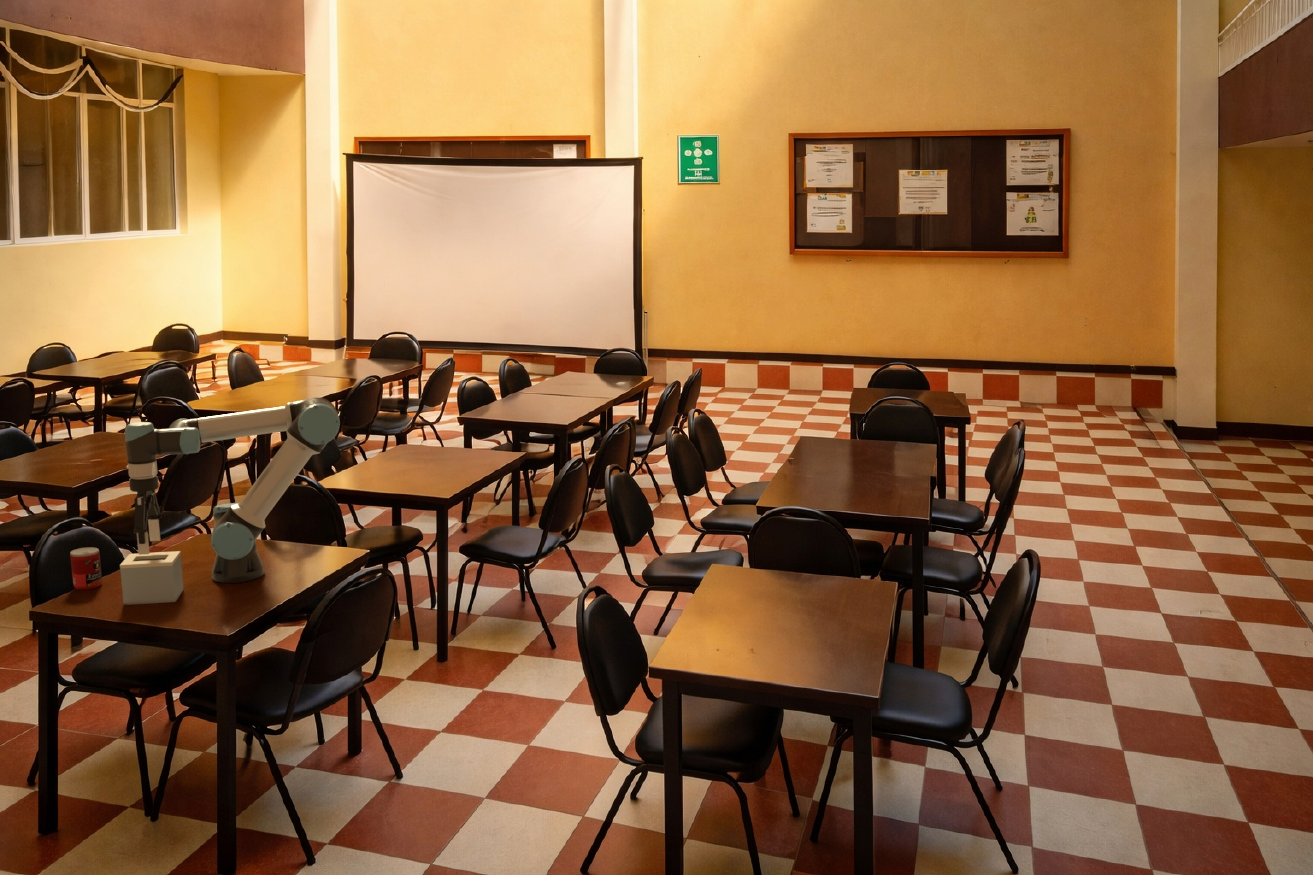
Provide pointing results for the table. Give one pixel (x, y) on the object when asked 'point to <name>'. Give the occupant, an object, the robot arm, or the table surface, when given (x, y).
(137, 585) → the box
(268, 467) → the robot arm
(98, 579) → the canned food
